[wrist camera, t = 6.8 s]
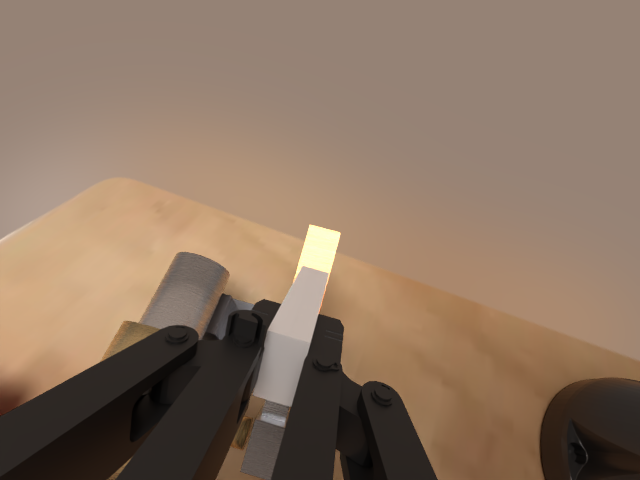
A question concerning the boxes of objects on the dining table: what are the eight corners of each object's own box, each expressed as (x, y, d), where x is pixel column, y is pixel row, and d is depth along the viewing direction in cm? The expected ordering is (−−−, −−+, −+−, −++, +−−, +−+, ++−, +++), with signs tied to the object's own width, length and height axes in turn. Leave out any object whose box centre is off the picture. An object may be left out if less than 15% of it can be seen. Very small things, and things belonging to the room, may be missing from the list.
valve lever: (274, 482, 16) (340, 231, 19) (238, 471, 16) (309, 223, 19) (280, 459, 19) (338, 240, 22) (248, 449, 19) (310, 233, 22)
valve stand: (213, 581, 21) (148, 726, 11) (78, 537, 21) (-95, 641, 12) (292, 319, 29) (293, 276, 20) (195, 292, 30) (152, 237, 20)
